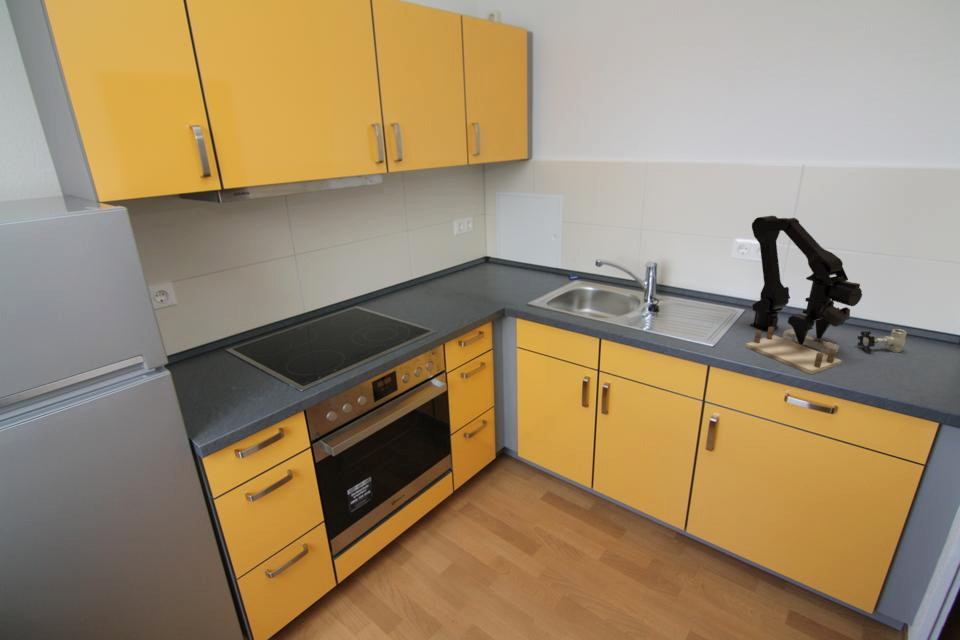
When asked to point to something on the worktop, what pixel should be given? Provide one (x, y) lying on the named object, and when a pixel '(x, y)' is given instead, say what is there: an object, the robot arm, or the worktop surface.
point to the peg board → (792, 353)
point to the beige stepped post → (811, 342)
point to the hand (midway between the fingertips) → (809, 341)
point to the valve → (883, 340)
